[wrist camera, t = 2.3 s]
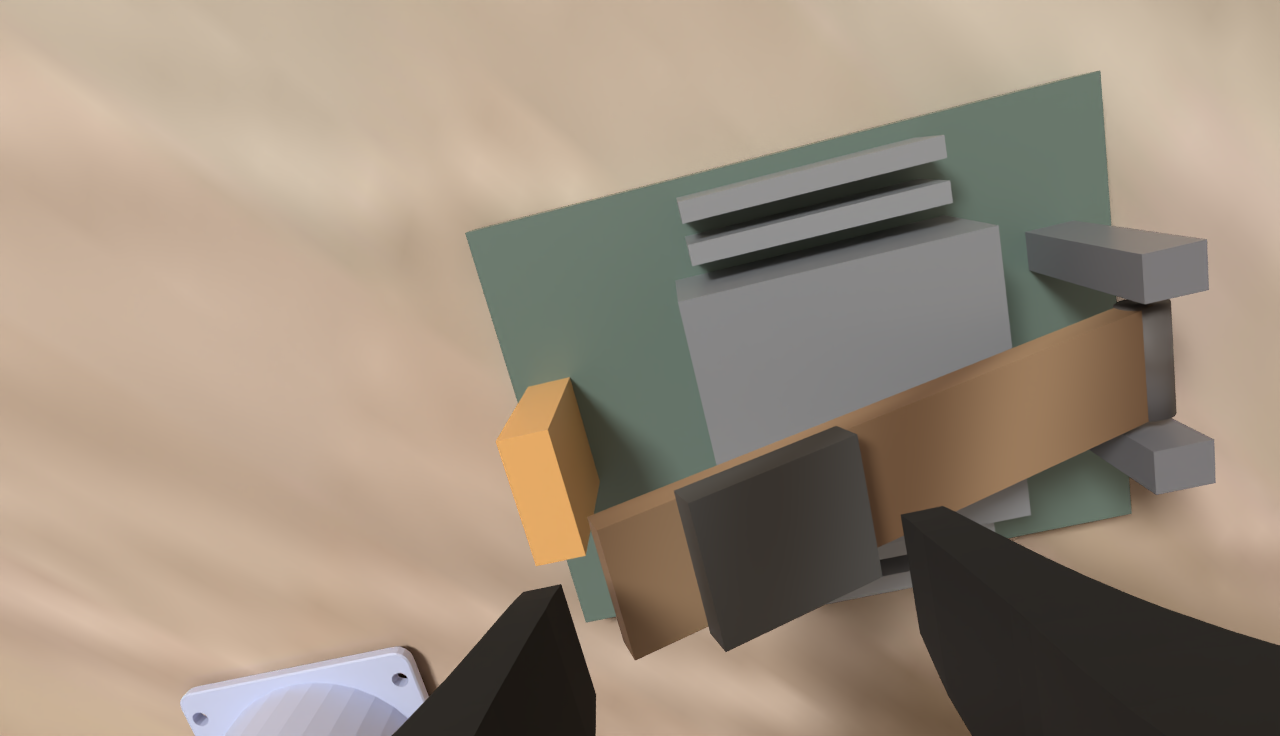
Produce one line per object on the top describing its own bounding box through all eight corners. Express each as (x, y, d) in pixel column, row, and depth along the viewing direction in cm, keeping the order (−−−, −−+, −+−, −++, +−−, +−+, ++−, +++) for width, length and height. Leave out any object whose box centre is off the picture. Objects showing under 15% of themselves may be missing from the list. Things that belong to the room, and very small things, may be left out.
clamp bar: (1134, 288, 16) (1202, 293, 14) (1142, 406, 16) (1208, 421, 15) (581, 504, 12) (605, 537, 11) (622, 642, 13) (649, 689, 12)
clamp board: (1110, 497, 21) (1263, 611, 16) (589, 602, 23) (567, 740, 17) (1076, 75, 18) (1253, 38, 13) (474, 229, 20) (404, 255, 14)
